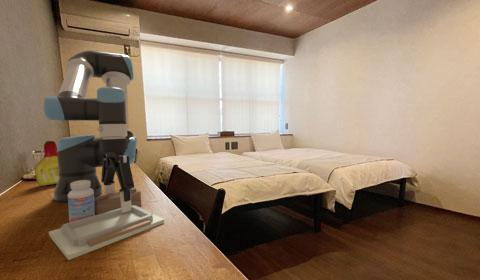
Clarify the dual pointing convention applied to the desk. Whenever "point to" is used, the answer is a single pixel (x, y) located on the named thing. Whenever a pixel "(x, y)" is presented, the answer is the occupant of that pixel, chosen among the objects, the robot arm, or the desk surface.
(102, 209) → the brown block
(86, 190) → the pill bottle
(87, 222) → the tray
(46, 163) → the bottle
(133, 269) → the desk surface
